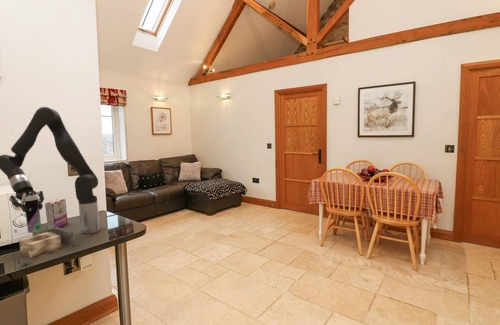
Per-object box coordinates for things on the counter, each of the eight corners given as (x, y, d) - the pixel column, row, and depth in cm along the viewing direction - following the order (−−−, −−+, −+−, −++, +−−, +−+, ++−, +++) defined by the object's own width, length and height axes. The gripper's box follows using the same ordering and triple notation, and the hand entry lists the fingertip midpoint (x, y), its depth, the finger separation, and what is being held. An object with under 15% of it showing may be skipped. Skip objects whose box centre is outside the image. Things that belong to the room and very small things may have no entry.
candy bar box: (60, 223, 173) (58, 198, 171) (68, 223, 173) (65, 198, 171) (47, 230, 162) (44, 203, 160) (55, 229, 162) (52, 202, 160)
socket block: (31, 257, 122) (30, 244, 122) (20, 252, 128) (19, 239, 128) (61, 247, 132) (60, 235, 132) (49, 243, 139) (48, 231, 138)
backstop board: (33, 261, 121) (31, 244, 120) (17, 253, 129) (15, 237, 129) (74, 247, 135) (72, 232, 134) (57, 241, 144) (55, 226, 143)
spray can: (30, 233, 136) (26, 194, 134) (26, 231, 139) (21, 193, 137) (43, 230, 140) (39, 192, 138) (38, 228, 143) (34, 191, 141)
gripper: (4, 182, 134) (18, 209, 130) (39, 178, 147) (52, 202, 142) (2, 192, 138) (14, 218, 133) (35, 187, 150) (48, 210, 145)
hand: (34, 210), depth 137 cm, fingers closed on spray can, 5 cm apart
